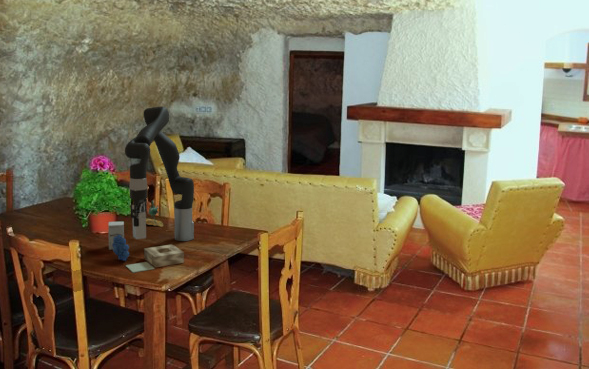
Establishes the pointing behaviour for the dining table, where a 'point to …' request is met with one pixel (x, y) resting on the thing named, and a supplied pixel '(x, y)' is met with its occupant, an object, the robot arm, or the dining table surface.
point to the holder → (163, 255)
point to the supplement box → (115, 231)
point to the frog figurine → (153, 212)
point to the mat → (140, 267)
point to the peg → (140, 226)
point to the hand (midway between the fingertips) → (139, 224)
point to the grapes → (120, 247)
